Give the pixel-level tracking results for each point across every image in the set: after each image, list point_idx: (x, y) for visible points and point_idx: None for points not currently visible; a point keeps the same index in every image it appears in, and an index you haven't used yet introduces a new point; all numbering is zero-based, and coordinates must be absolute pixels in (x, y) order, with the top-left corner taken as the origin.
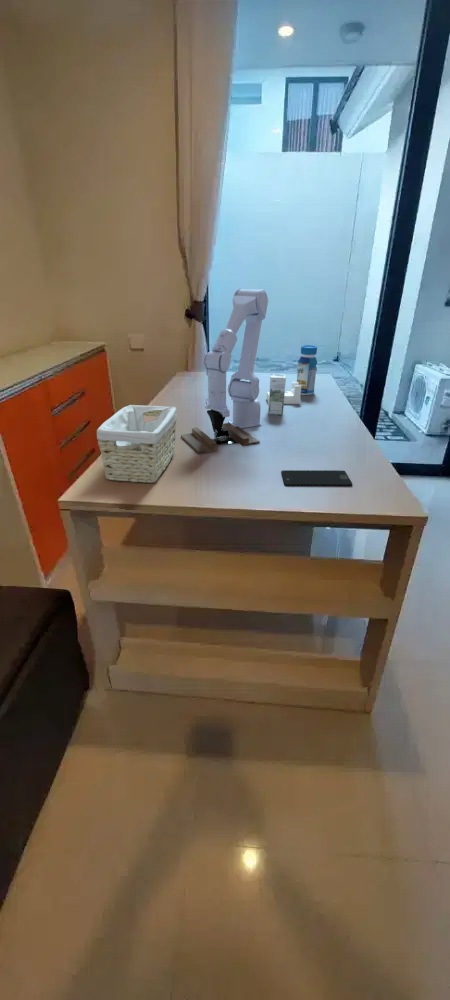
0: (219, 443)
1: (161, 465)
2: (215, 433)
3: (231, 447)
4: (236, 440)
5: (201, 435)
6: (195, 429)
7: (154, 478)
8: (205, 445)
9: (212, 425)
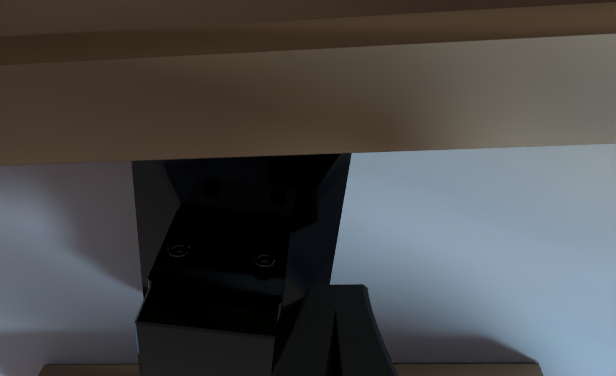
0: (152, 220)
1: None
2: (216, 279)
3: (28, 281)
4: None
5: (223, 71)
6: (587, 71)
7: None
8: (9, 24)
9: (361, 351)
